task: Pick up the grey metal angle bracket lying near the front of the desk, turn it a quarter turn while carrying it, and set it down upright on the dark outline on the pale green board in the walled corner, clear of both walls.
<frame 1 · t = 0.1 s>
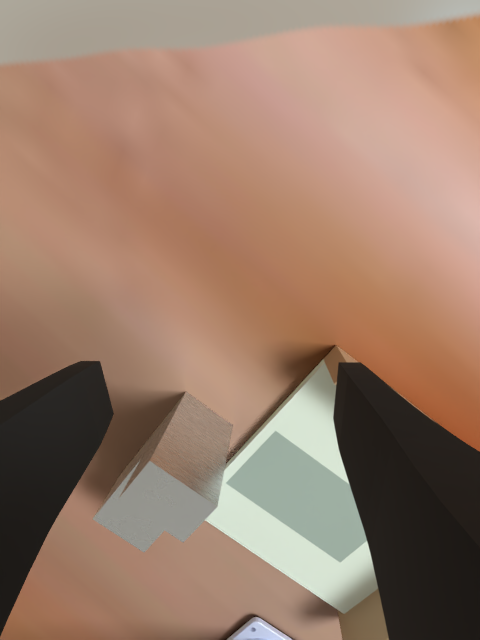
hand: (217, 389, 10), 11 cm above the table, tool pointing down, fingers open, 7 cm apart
corner arena: (333, 496, 23), on the table
bracket: (178, 445, 23), on the table
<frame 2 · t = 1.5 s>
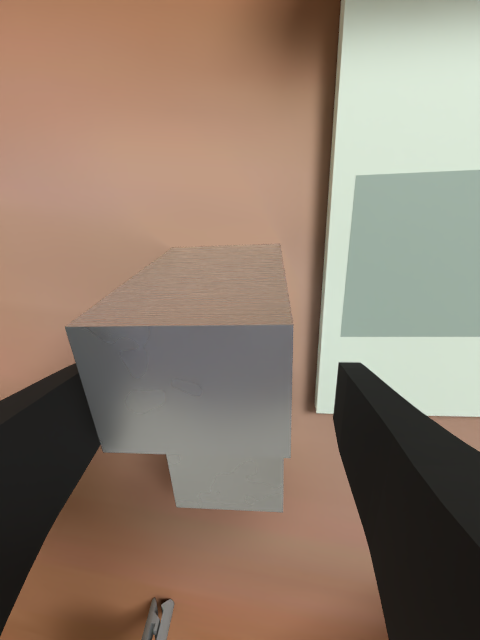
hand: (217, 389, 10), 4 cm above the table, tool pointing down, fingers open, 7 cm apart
mechanical component: (164, 598, 22), on the table
bracket: (232, 340, 13), on the table
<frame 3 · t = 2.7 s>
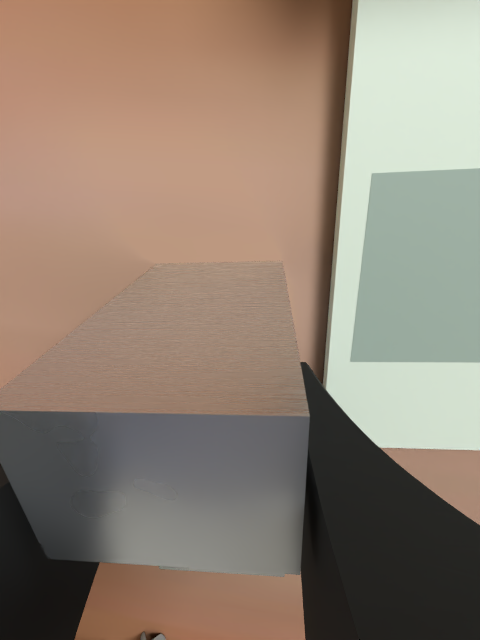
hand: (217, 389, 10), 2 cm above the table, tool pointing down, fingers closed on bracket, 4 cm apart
mechanical component: (154, 632, 21), on the table
bracket: (226, 369, 12), on the table, touching gripper
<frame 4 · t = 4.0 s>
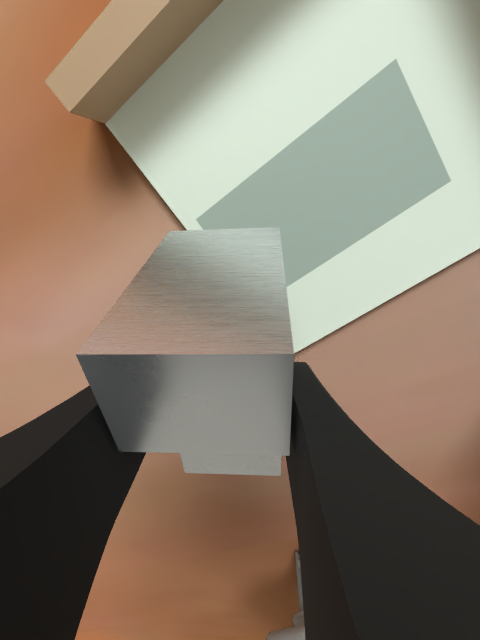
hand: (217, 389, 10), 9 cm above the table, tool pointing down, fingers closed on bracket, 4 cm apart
corner arena: (331, 162, 15), on the table
mechanical component: (303, 549, 28), on the table
bracket: (231, 320, 14), point 5 cm above the table, tilted 9°, touching gripper
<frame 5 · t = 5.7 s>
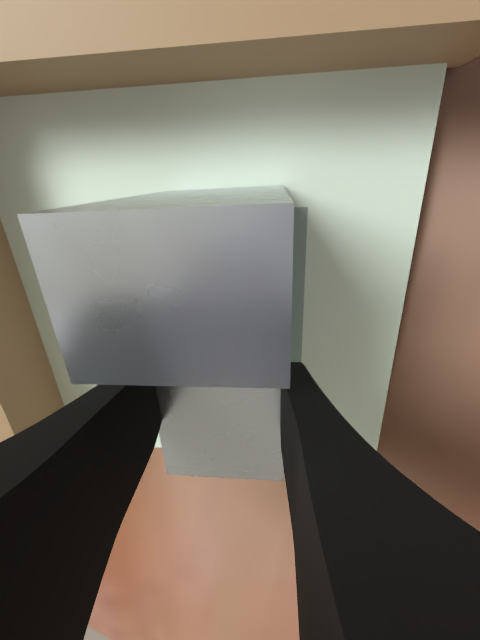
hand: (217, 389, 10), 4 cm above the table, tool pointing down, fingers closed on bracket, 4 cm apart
corner arena: (209, 305, 13), on the table
bracket: (230, 298, 12), point 1 cm above the table, touching corner arena, gripper
when the fingers open (3 cm above the table, at t = 6.8 s): bracket stays where it is, resting on corner arena.
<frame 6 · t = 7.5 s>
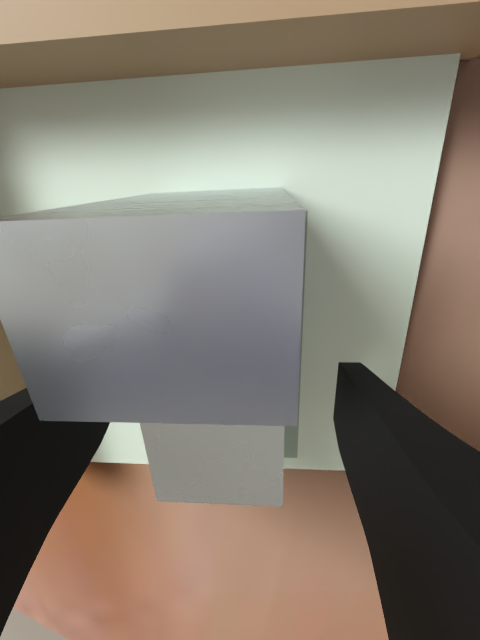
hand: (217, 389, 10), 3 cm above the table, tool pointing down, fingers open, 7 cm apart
corner arena: (202, 314, 12), on the table
bracket: (224, 308, 12), point 1 cm above the table, touching corner arena
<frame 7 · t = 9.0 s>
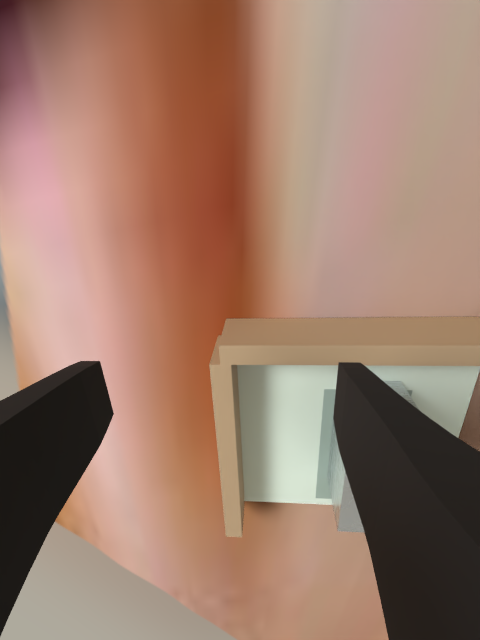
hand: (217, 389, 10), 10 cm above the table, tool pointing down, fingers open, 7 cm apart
corner arena: (344, 427, 23), on the table
bracket: (361, 428, 22), point 1 cm above the table, touching corner arena
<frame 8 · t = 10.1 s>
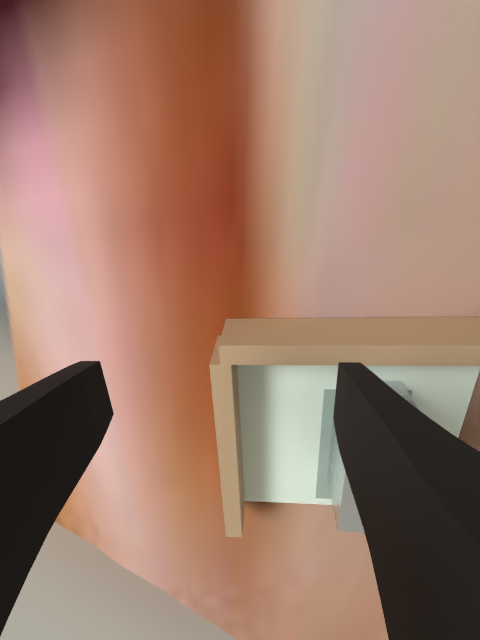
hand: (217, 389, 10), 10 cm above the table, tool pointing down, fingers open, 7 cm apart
corner arena: (344, 427, 23), on the table
bracket: (361, 428, 22), point 1 cm above the table, touching corner arena
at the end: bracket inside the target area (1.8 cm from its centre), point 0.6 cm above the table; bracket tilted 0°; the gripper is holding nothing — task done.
